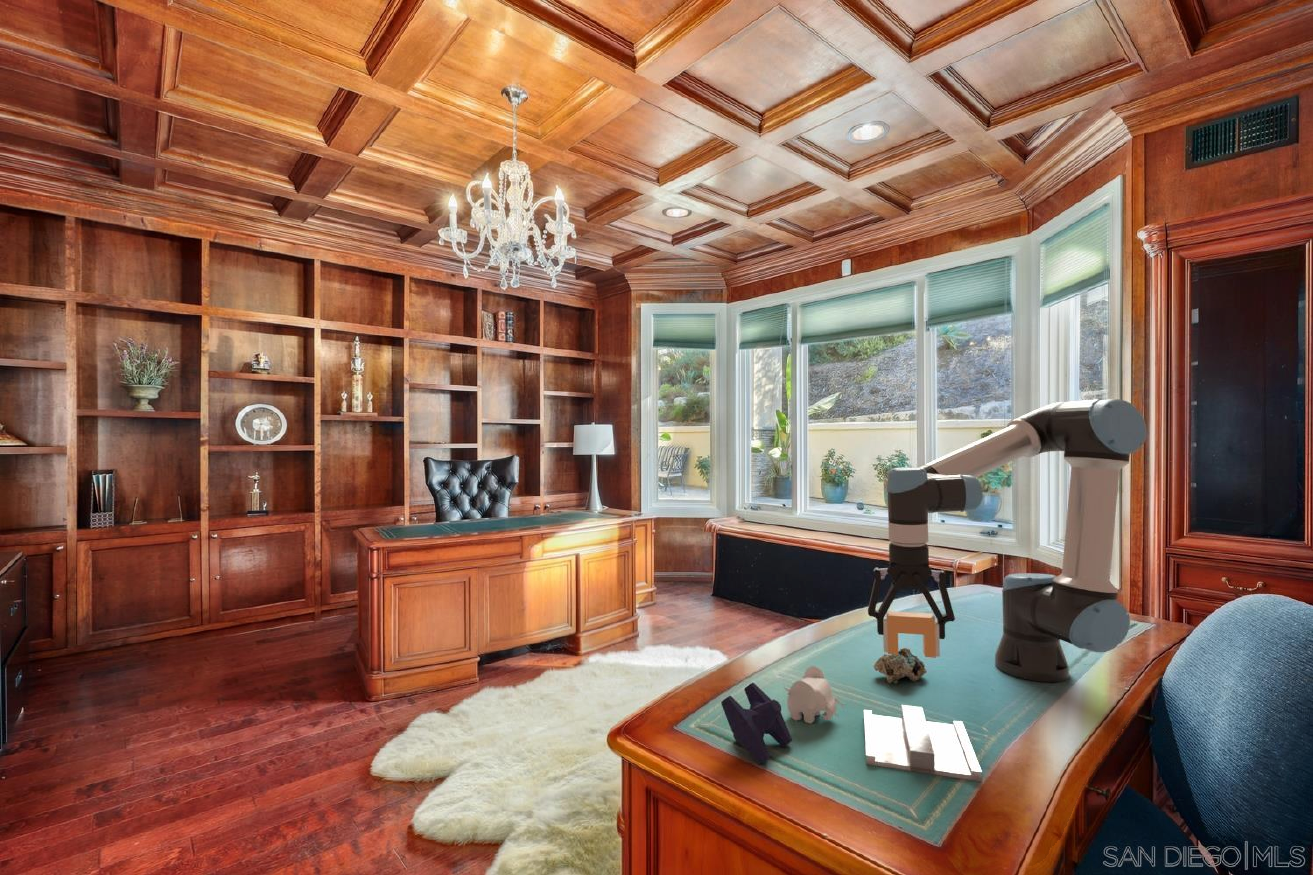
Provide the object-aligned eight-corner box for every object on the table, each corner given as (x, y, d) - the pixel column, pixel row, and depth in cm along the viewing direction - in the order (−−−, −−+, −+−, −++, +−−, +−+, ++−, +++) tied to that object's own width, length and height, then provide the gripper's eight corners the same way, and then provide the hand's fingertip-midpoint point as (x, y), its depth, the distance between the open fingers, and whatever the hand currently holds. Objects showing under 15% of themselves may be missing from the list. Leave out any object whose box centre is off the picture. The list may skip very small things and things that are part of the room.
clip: (933, 652, 124) (932, 613, 124) (935, 657, 121) (934, 618, 121) (887, 648, 127) (886, 610, 127) (888, 653, 124) (887, 615, 124)
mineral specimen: (898, 687, 134) (909, 653, 135) (865, 670, 142) (875, 637, 142) (928, 694, 140) (938, 660, 141) (894, 677, 148) (904, 645, 149)
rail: (962, 729, 116) (962, 711, 116) (981, 781, 99) (981, 760, 99) (863, 717, 122) (863, 700, 122) (866, 764, 105) (866, 744, 105)
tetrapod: (806, 743, 110) (792, 679, 112) (772, 770, 101) (757, 701, 103) (756, 739, 118) (743, 679, 119) (720, 764, 109) (706, 699, 111)
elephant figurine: (835, 735, 115) (835, 689, 115) (775, 719, 121) (775, 675, 121) (848, 715, 123) (848, 671, 123) (791, 701, 129) (791, 660, 129)
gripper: (963, 541, 124) (966, 649, 124) (852, 538, 130) (855, 641, 131) (970, 548, 117) (973, 663, 117) (852, 544, 123) (855, 654, 124)
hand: (911, 651), depth 124 cm, fingers closed on clip, 9 cm apart
